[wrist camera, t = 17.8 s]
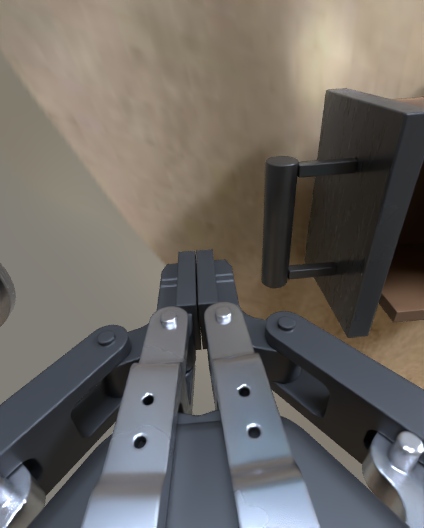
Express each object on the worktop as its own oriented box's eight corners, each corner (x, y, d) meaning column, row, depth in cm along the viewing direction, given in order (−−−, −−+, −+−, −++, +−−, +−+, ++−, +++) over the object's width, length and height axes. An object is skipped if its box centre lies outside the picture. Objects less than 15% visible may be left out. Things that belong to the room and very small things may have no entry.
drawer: (248, 265, 24) (270, 345, 17) (248, 95, 17) (285, 122, 11) (465, 246, 24) (567, 318, 18) (545, 72, 18) (749, 86, 11)
